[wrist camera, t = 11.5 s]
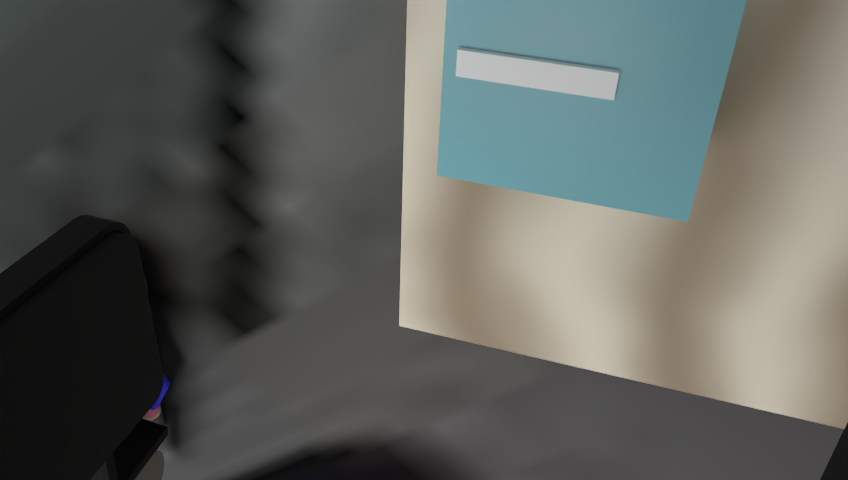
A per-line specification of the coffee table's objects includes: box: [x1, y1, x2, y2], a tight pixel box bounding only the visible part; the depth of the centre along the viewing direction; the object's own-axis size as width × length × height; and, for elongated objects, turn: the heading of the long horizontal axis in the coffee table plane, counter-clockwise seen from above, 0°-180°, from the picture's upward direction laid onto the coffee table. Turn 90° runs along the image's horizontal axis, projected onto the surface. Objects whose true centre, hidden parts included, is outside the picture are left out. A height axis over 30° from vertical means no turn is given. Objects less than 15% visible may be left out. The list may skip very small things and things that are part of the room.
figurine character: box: [90, 276, 170, 480], centre depth 39 cm, size 7×8×15 cm
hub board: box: [399, 0, 848, 429], centre depth 24 cm, size 22×17×6 cm
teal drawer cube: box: [437, 0, 747, 222], centre depth 21 cm, size 7×7×5 cm
